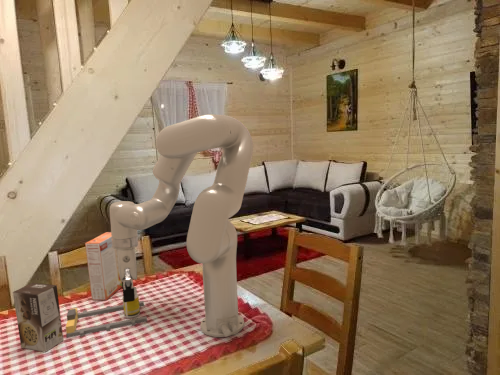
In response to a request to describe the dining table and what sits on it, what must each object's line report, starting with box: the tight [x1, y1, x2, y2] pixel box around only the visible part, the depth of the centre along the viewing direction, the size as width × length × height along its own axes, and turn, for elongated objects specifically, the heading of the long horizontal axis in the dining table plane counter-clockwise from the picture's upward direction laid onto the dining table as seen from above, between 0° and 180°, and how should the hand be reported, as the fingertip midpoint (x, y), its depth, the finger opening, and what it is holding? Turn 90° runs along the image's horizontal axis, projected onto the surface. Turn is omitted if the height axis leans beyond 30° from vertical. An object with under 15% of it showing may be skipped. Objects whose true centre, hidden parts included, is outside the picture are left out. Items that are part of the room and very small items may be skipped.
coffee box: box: [12, 282, 64, 353], centre depth 100 cm, size 9×6×16 cm
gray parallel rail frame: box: [65, 300, 148, 339], centre depth 114 cm, size 15×22×1 cm
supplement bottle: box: [122, 286, 141, 319], centre depth 115 cm, size 5×5×8 cm
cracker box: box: [84, 231, 122, 301], centre depth 133 cm, size 14×6×21 cm, turn 172°
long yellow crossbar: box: [65, 307, 79, 334], centre depth 110 cm, size 12×2×4 cm, turn 21°
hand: (128, 294), depth 115 cm, fingers open, 9 cm apart
